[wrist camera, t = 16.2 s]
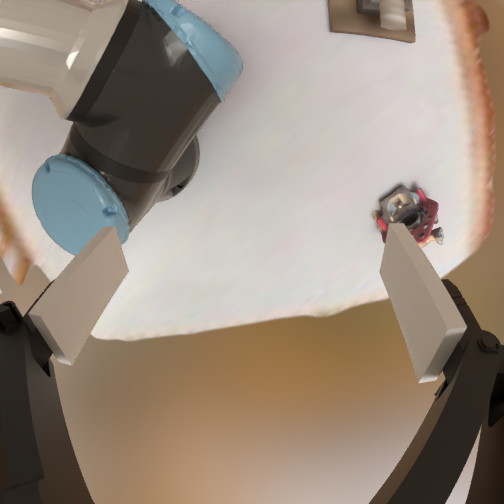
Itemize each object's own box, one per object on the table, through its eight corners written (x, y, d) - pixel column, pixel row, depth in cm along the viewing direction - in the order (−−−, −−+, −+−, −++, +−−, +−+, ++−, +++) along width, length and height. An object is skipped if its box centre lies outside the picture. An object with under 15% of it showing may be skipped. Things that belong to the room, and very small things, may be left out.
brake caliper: (412, 164, 38) (458, 225, 33) (420, 190, 47) (457, 242, 41) (358, 205, 43) (397, 269, 38) (375, 224, 51) (407, 277, 46)
